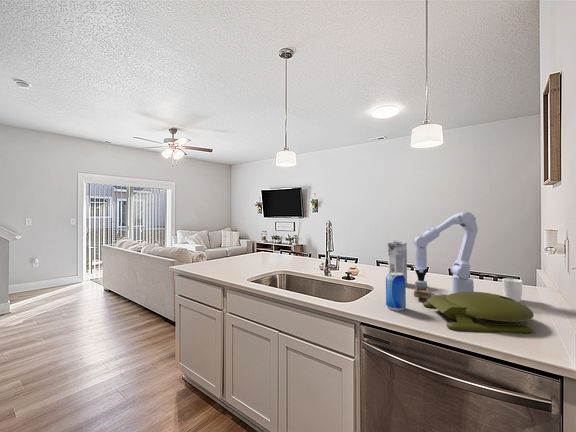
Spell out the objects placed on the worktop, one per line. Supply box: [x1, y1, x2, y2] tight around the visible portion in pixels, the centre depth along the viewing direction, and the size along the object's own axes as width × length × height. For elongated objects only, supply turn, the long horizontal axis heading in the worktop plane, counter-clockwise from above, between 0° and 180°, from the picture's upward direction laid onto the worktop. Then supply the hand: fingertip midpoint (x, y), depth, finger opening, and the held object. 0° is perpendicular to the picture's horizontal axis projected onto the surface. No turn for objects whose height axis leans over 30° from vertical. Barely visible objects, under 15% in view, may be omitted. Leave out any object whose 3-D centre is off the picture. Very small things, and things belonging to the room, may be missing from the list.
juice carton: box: [387, 240, 408, 284], centre depth 174 cm, size 9×10×27 cm
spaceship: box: [422, 291, 535, 335], centre depth 115 cm, size 35×31×10 cm
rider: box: [415, 279, 428, 289], centre depth 149 cm, size 5×4×4 cm
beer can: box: [385, 272, 407, 312], centre depth 128 cm, size 8×8×16 cm
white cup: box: [501, 277, 523, 303], centre depth 139 cm, size 8×8×10 cm
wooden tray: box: [413, 281, 430, 299], centre depth 147 cm, size 7×21×5 cm, turn 155°
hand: (421, 283), depth 152 cm, fingers closed
